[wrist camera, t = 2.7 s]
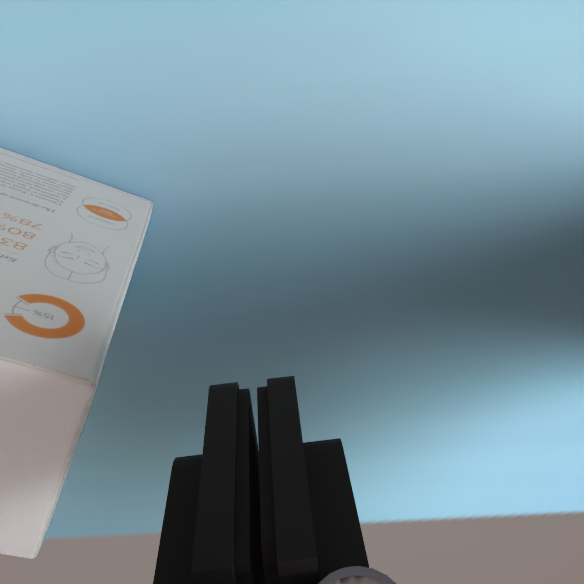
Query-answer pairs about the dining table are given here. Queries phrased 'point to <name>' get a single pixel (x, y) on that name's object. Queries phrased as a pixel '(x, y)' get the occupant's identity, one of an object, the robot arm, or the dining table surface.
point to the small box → (54, 326)
